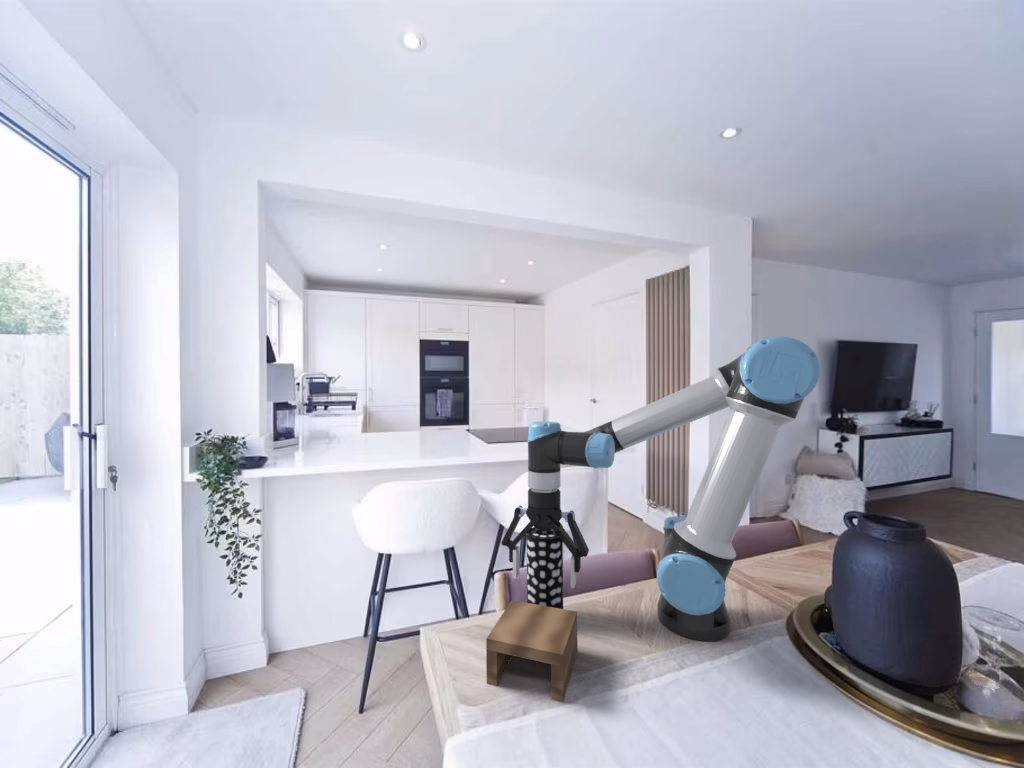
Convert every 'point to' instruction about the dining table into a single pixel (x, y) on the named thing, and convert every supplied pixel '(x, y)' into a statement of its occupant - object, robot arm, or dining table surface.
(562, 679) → the wooden bridge block
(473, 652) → the dining table surface
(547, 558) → the spotted tube
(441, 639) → the dining table surface
